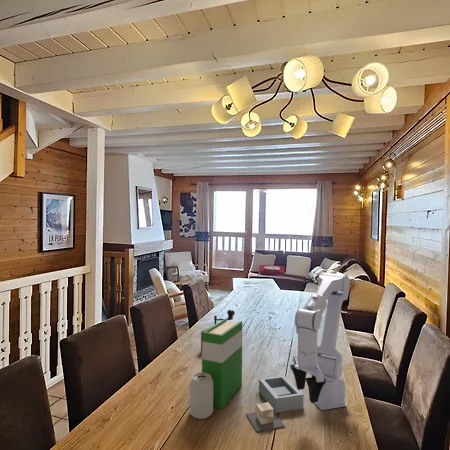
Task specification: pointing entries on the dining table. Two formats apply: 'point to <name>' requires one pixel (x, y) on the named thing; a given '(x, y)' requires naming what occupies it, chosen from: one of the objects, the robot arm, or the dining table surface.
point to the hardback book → (223, 359)
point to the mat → (264, 427)
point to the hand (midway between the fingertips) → (307, 395)
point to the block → (264, 413)
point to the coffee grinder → (230, 317)
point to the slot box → (281, 394)
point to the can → (201, 395)
